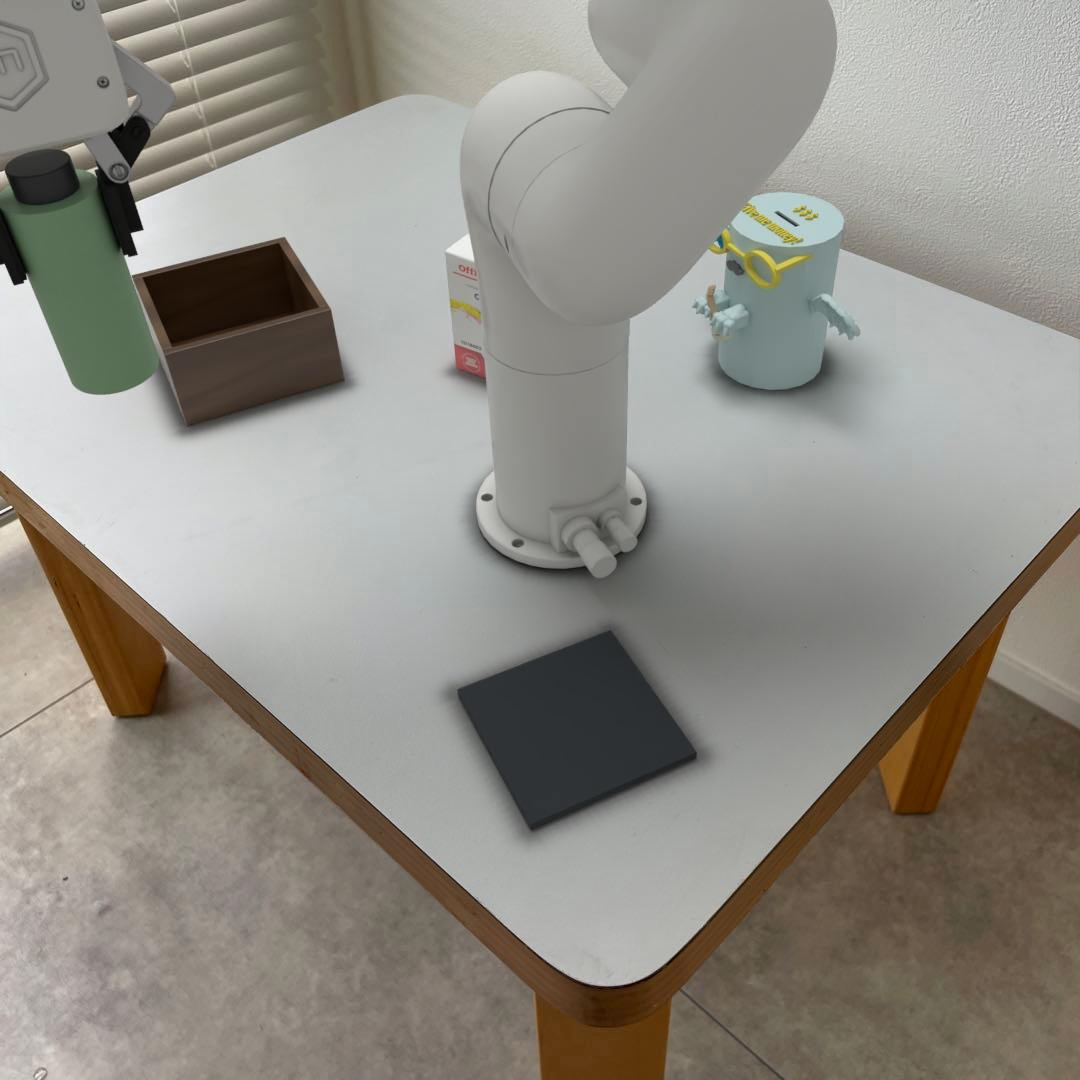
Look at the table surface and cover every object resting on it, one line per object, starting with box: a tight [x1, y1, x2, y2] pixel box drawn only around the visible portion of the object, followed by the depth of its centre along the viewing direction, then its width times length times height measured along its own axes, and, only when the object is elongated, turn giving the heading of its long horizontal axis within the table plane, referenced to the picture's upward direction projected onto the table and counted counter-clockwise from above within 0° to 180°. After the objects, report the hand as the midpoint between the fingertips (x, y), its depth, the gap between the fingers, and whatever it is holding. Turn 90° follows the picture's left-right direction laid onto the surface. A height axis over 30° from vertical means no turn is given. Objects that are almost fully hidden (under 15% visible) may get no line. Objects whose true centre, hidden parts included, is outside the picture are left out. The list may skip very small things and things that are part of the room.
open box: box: [131, 236, 346, 428], centre depth 97 cm, size 14×14×7 cm
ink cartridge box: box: [444, 232, 486, 379], centre depth 92 cm, size 9×5×15 cm, turn 58°
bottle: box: [0, 148, 160, 396], centre depth 61 cm, size 5×5×12 cm
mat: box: [456, 629, 698, 830], centre depth 70 cm, size 11×11×1 cm
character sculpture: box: [691, 191, 861, 391], centre depth 92 cm, size 20×12×13 cm, turn 29°
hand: (72, 255), depth 60 cm, fingers closed on bottle, 5 cm apart
